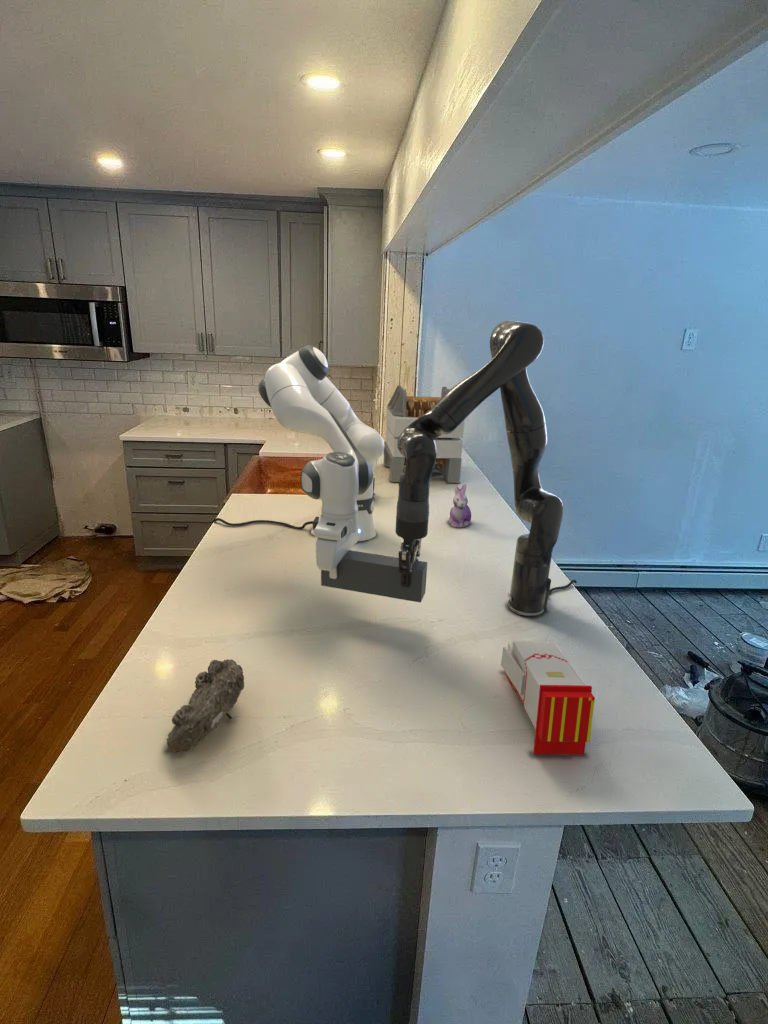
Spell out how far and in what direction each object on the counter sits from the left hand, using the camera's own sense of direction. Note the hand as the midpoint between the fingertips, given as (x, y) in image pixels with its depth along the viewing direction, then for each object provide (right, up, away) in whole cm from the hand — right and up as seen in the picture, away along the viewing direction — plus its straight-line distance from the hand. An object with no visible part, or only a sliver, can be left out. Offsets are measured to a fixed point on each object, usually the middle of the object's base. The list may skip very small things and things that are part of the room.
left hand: (338, 572), depth 142 cm
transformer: (+29, +34, +133) cm, 140 cm away
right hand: (+17, -2, -5) cm, 18 cm away
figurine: (+40, +11, +70) cm, 81 cm away
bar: (+9, -4, -1) cm, 10 cm away
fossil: (-21, -24, -34) cm, 47 cm away
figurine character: (+4, +20, +93) cm, 95 cm away
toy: (+43, -24, -26) cm, 56 cm away
